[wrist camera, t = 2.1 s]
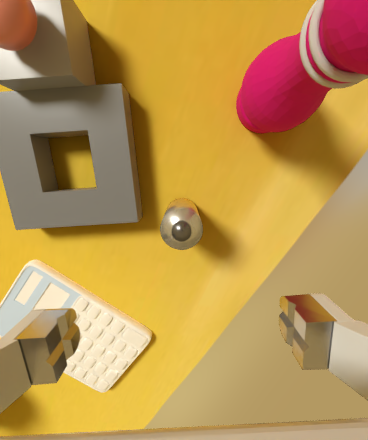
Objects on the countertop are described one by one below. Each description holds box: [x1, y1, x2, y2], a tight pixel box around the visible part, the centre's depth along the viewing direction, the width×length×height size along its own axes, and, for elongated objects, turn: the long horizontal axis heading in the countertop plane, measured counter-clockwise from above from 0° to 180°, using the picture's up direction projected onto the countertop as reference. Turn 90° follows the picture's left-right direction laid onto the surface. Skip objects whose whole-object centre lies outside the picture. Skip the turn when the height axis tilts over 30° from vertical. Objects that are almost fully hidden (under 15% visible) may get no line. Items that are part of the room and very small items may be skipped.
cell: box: [160, 198, 203, 250], centre depth 23 cm, size 4×4×8 cm
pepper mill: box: [236, 0, 368, 133], centre depth 14 cm, size 7×7×20 cm
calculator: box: [0, 260, 152, 392], centre depth 30 cm, size 13×20×2 cm, turn 53°
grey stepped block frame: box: [0, 0, 143, 230], centre depth 22 cm, size 21×14×6 cm, turn 4°
